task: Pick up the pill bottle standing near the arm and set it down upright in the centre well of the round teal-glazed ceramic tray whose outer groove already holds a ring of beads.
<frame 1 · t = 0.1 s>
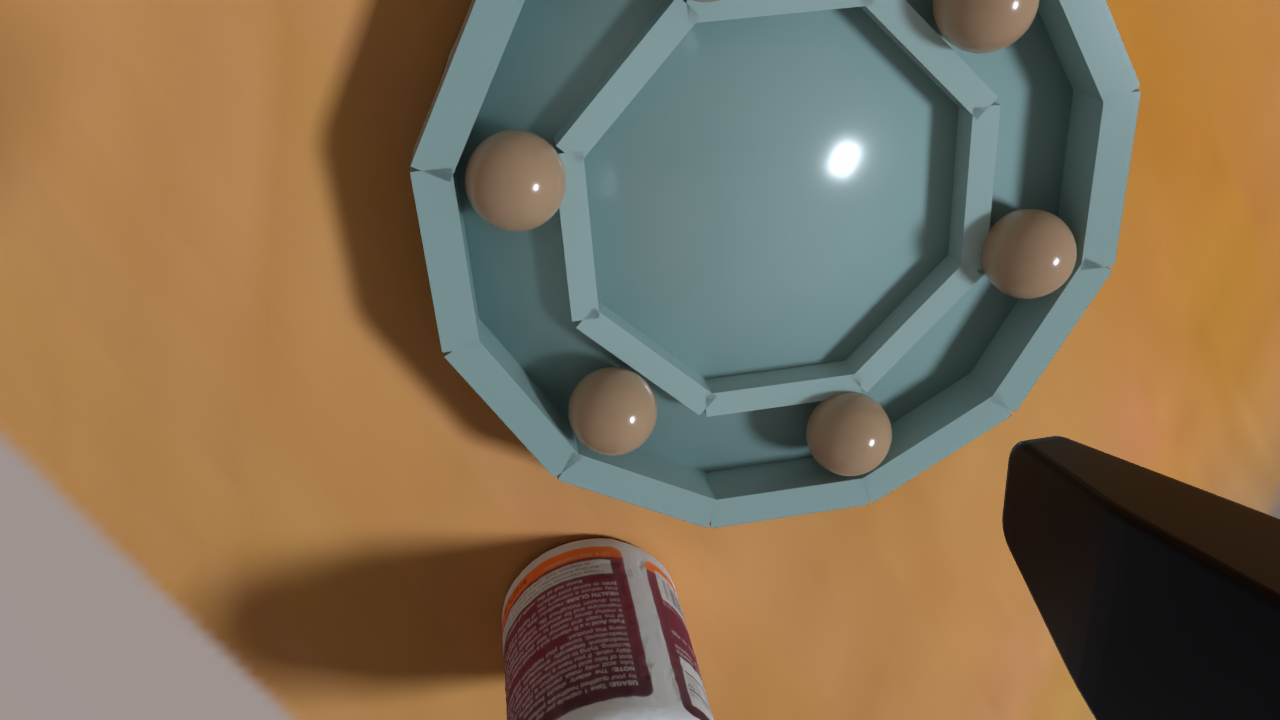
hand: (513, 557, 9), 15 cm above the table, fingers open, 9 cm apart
pill bottle: (589, 600, 28), on the table
tray: (764, 193, 23), on the table
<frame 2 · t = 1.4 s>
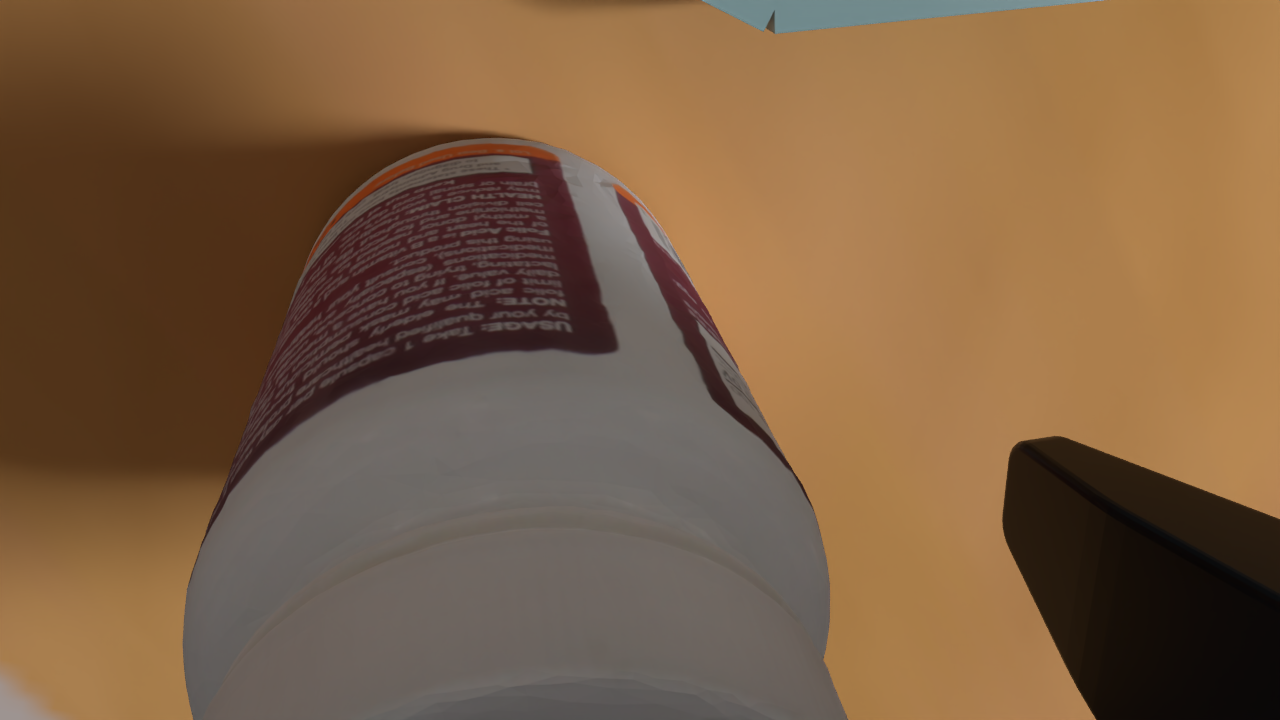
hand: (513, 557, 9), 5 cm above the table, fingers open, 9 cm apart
pill bottle: (498, 312, 13), on the table
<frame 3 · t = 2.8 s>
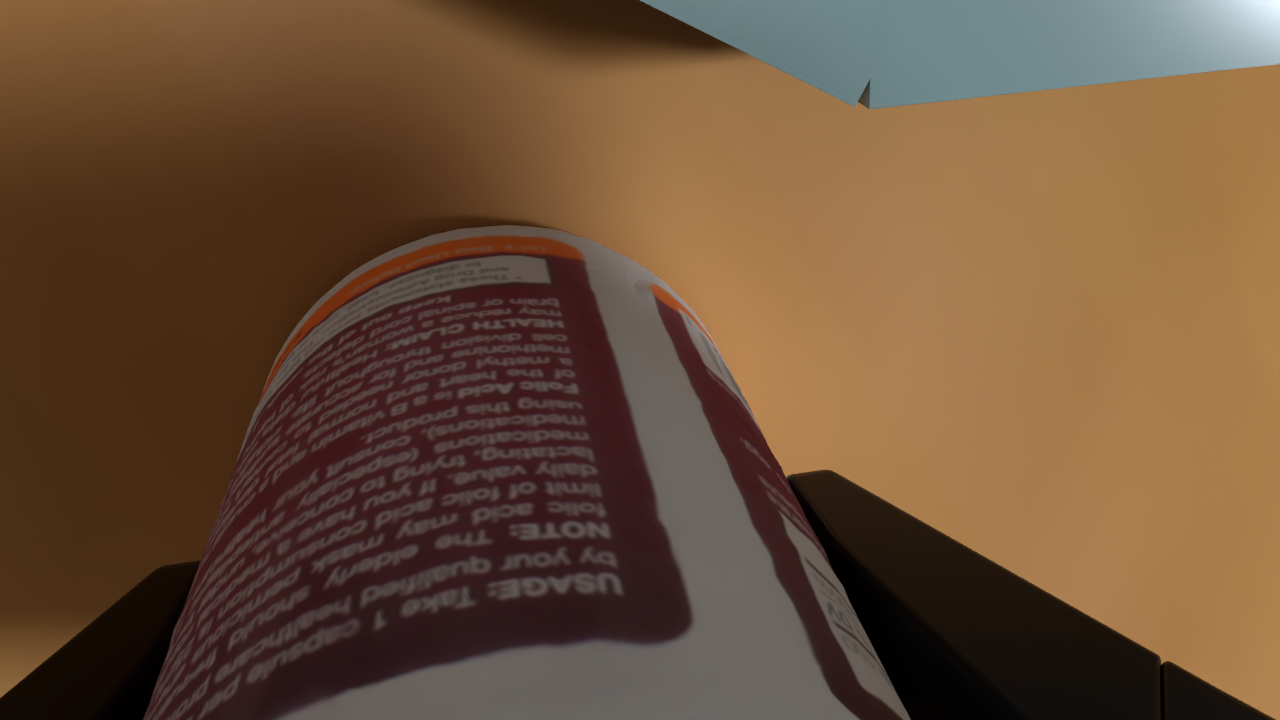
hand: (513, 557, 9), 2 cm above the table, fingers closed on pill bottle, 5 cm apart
pill bottle: (505, 426, 11), on the table, touching gripper
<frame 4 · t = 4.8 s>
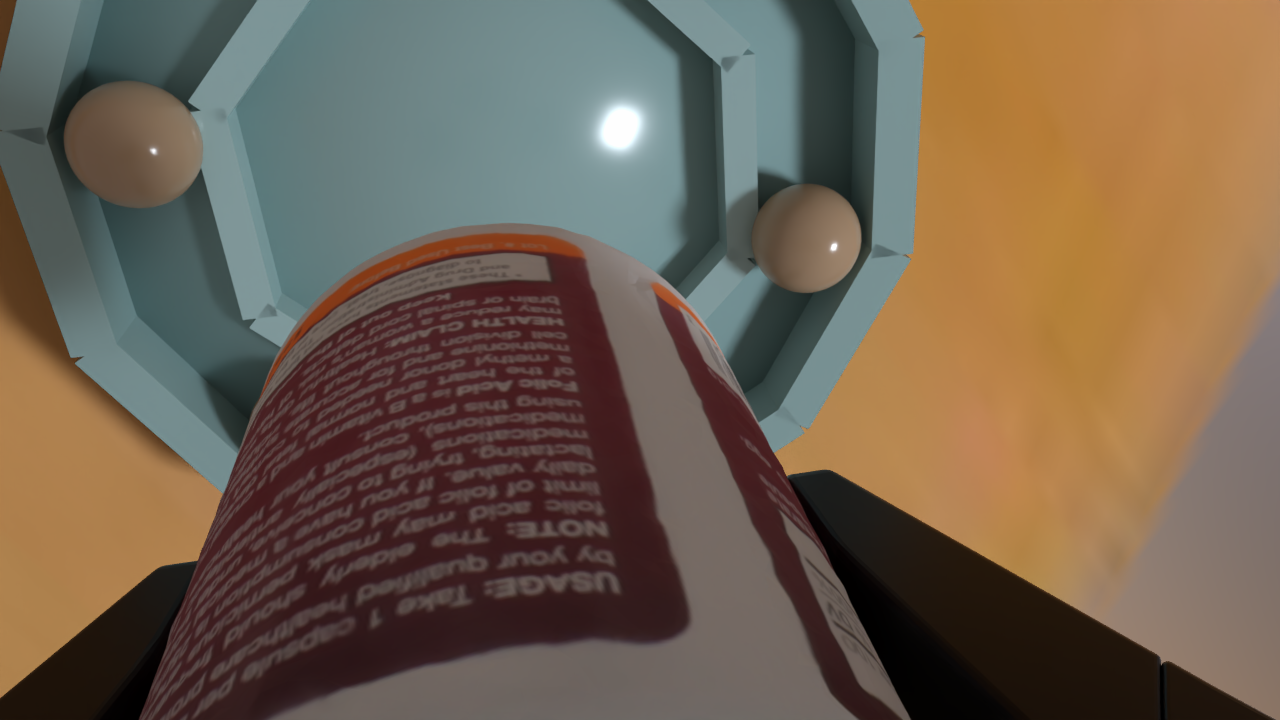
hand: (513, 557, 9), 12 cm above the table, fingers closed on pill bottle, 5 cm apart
pill bottle: (505, 424, 11), point 10 cm above the table, touching gripper
tray: (491, 166, 19), on the table
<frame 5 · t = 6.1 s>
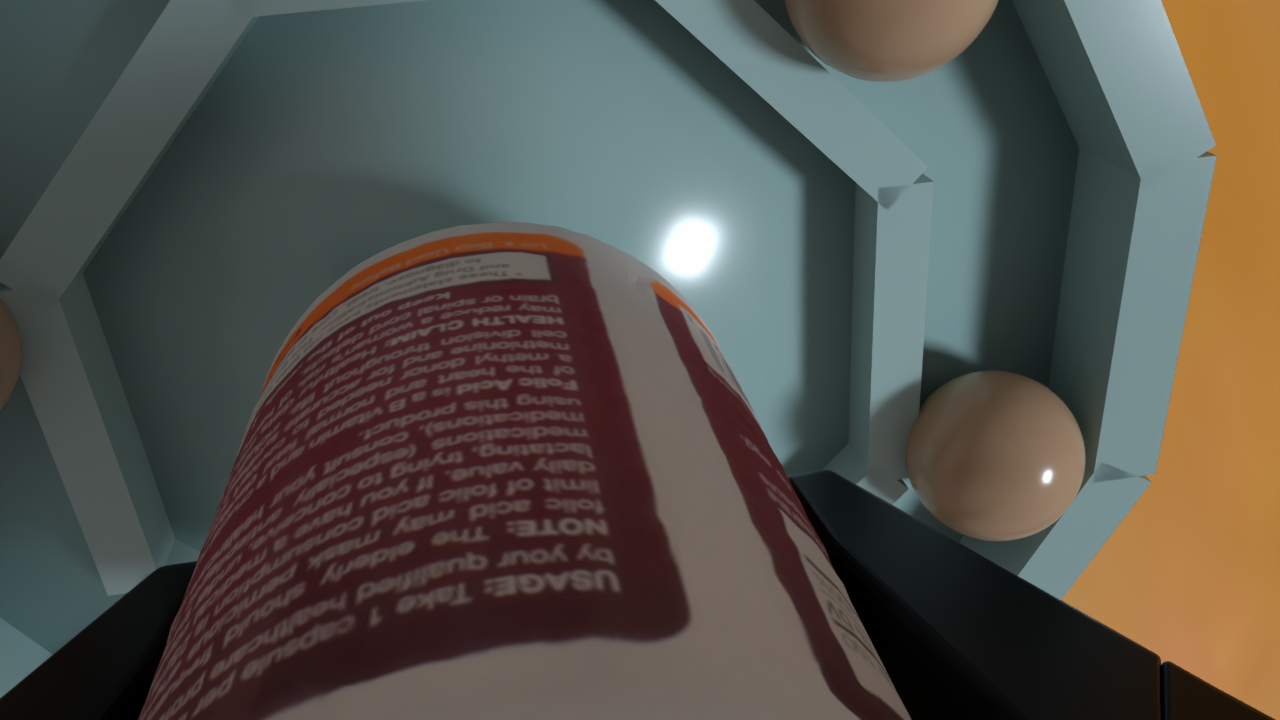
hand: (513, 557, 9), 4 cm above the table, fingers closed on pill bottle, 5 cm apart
pill bottle: (505, 423, 11), point 2 cm above the table, touching gripper
tray: (502, 336, 12), on the table
when the fingers open (4 cm above the table, at t = 6.9 s): pill bottle drops 1 cm, resting on tray.
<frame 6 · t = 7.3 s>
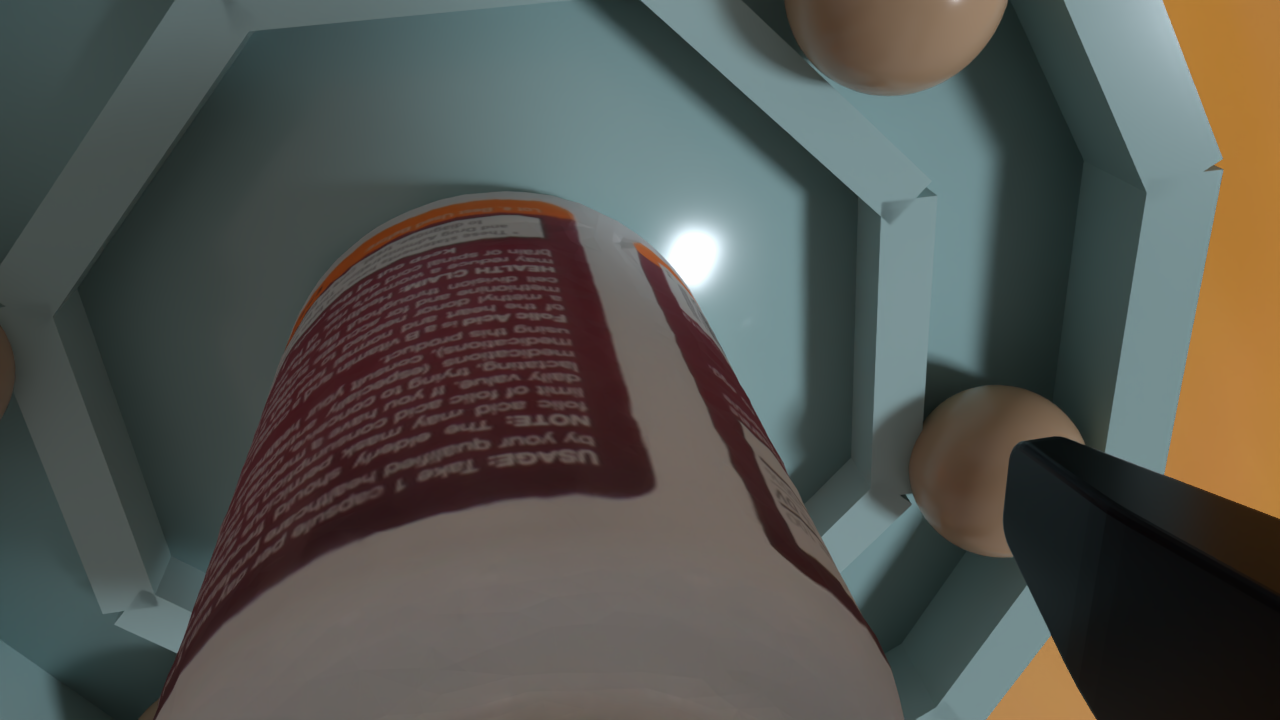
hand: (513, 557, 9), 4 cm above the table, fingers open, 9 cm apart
pill bottle: (505, 378, 12), point 1 cm above the table, touching tray
tray: (501, 350, 12), on the table
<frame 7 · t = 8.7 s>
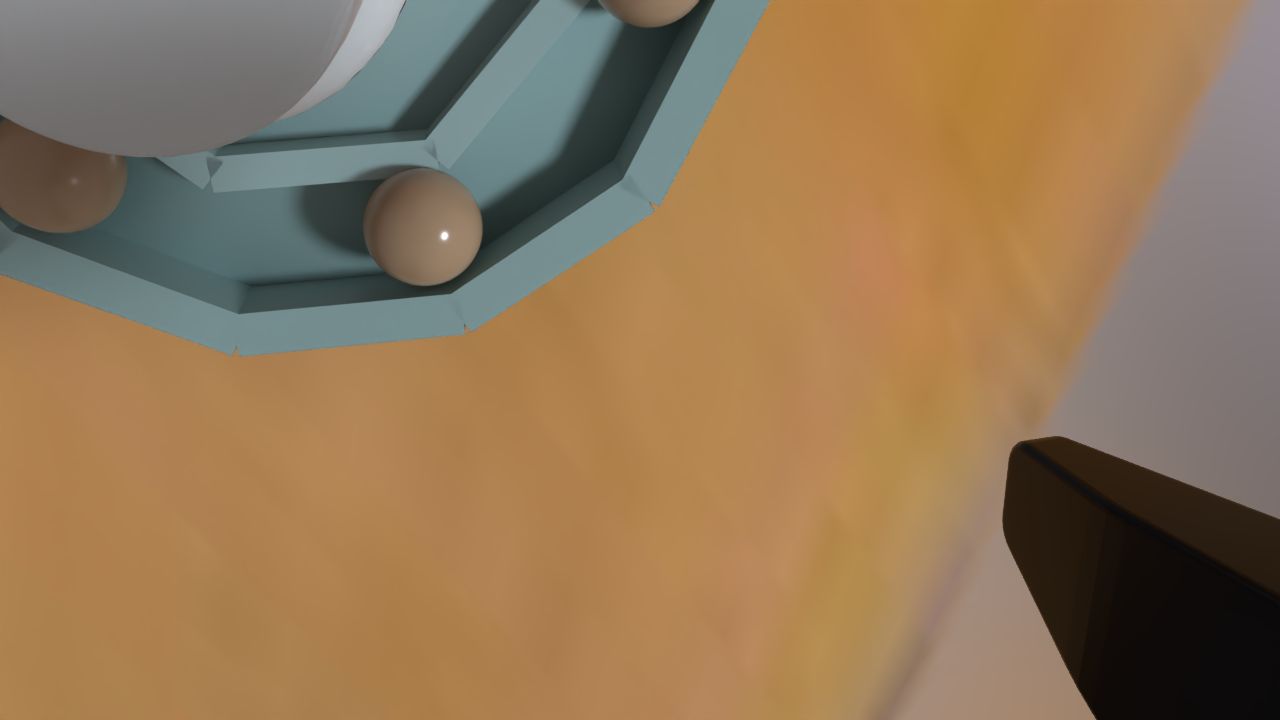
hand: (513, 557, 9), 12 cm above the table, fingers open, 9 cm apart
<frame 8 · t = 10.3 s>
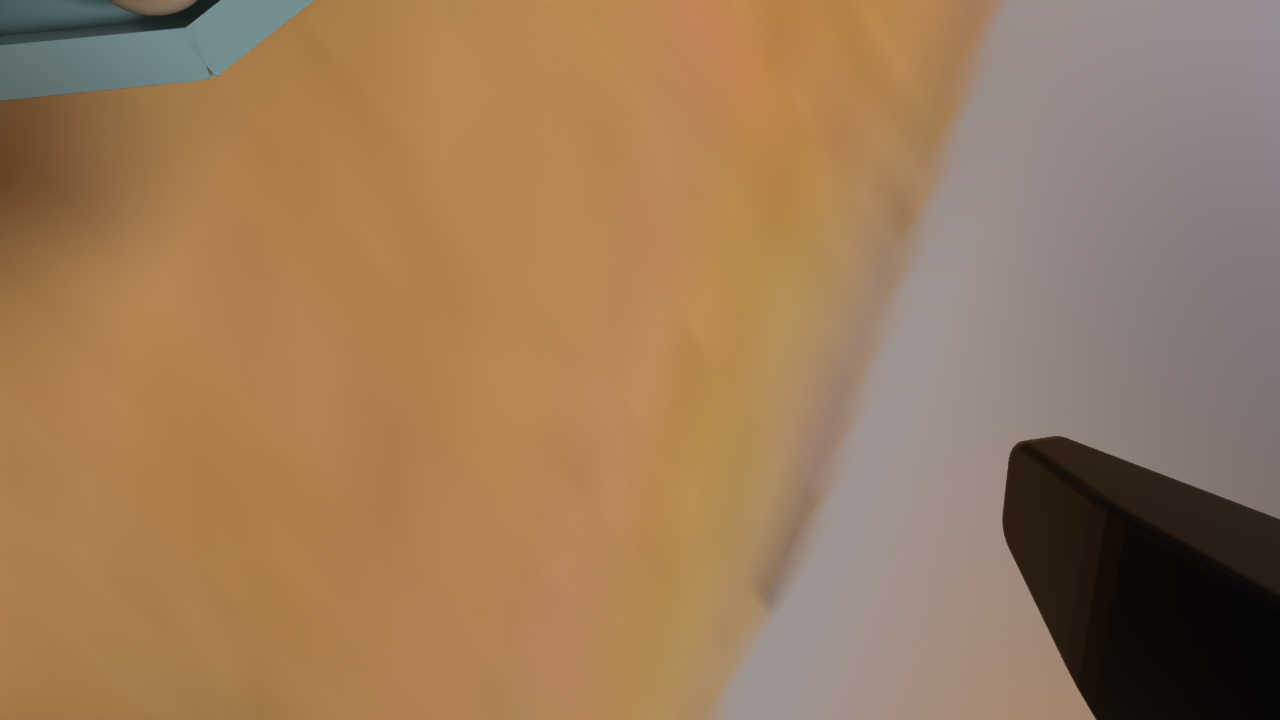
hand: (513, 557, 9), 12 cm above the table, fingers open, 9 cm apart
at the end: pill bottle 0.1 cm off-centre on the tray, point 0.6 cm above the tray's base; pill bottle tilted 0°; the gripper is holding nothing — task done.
